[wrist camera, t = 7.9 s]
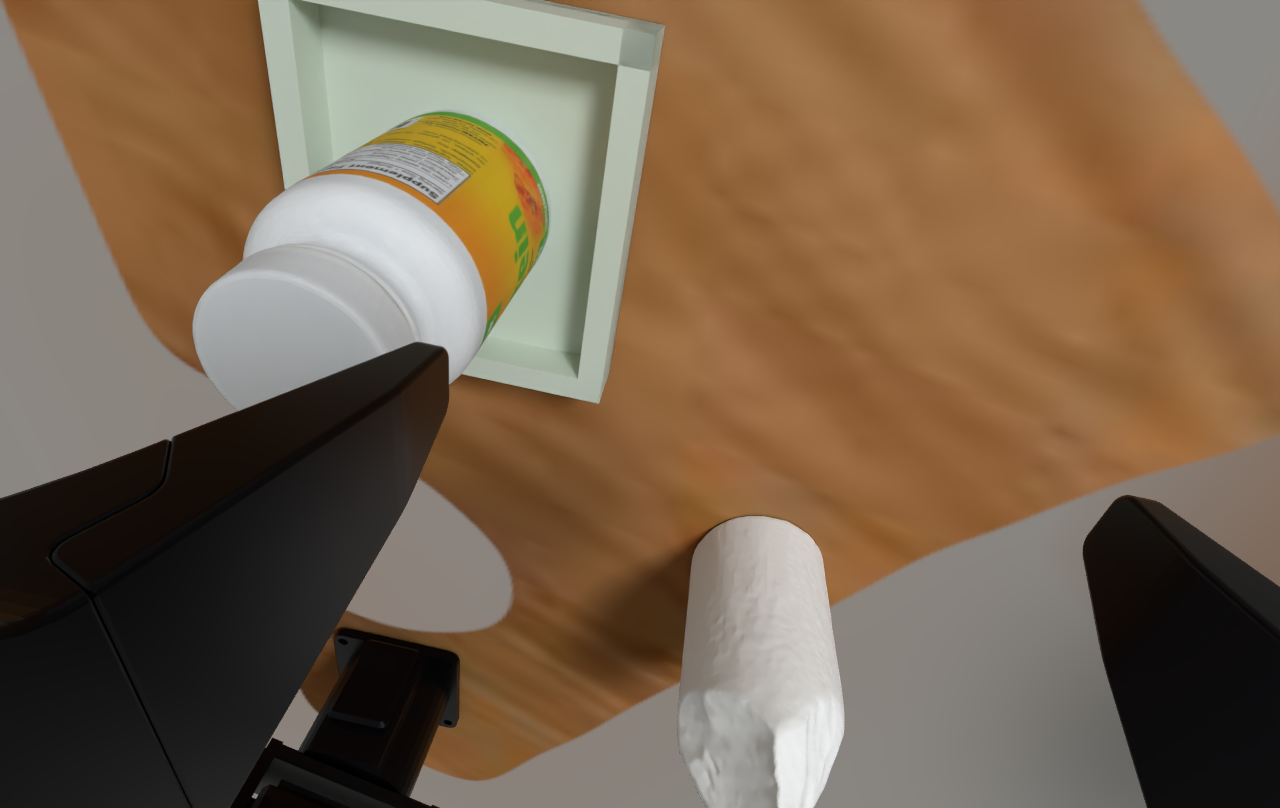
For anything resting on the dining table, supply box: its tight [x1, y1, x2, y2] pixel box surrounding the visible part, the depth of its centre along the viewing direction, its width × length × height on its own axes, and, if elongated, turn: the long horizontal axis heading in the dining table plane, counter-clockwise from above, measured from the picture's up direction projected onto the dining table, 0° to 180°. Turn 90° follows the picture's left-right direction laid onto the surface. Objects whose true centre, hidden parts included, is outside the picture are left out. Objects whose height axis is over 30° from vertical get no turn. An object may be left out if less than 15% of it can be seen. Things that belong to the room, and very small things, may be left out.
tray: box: [258, 0, 665, 404], centre depth 21 cm, size 11×10×2 cm
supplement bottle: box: [193, 110, 551, 411], centre depth 17 cm, size 5×5×10 cm
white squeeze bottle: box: [677, 516, 844, 808], centre depth 24 cm, size 6×12×6 cm
